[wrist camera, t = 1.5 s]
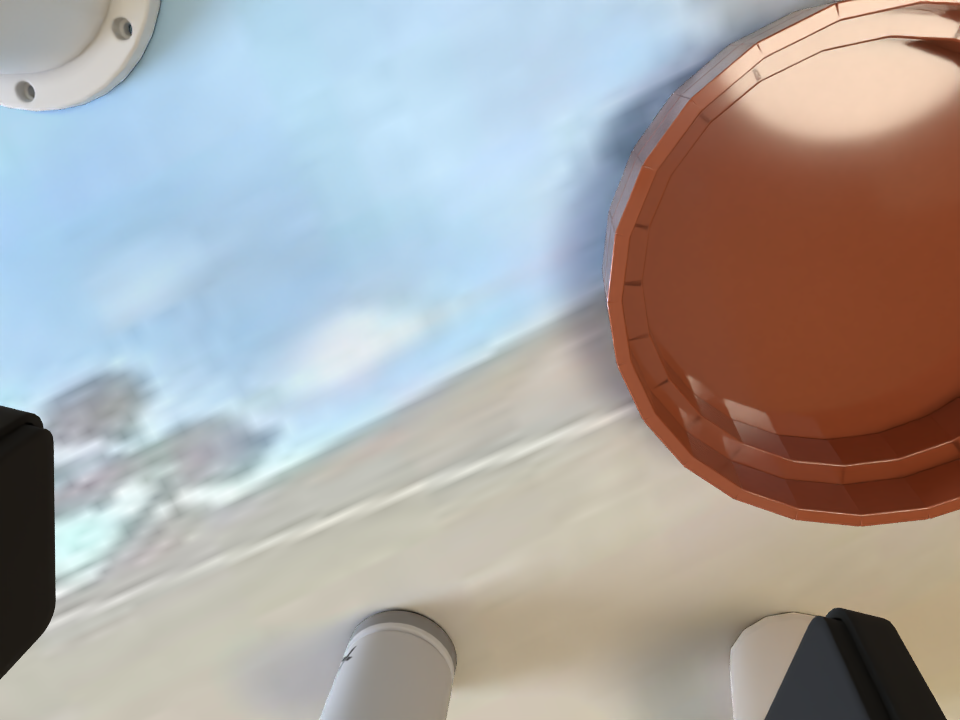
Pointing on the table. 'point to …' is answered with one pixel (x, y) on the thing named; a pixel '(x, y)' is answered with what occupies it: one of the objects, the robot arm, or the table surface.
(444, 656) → the travel mug
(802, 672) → the robot arm
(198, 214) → the table surface
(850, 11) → the terracotta plant saucer
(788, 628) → the foam cup
